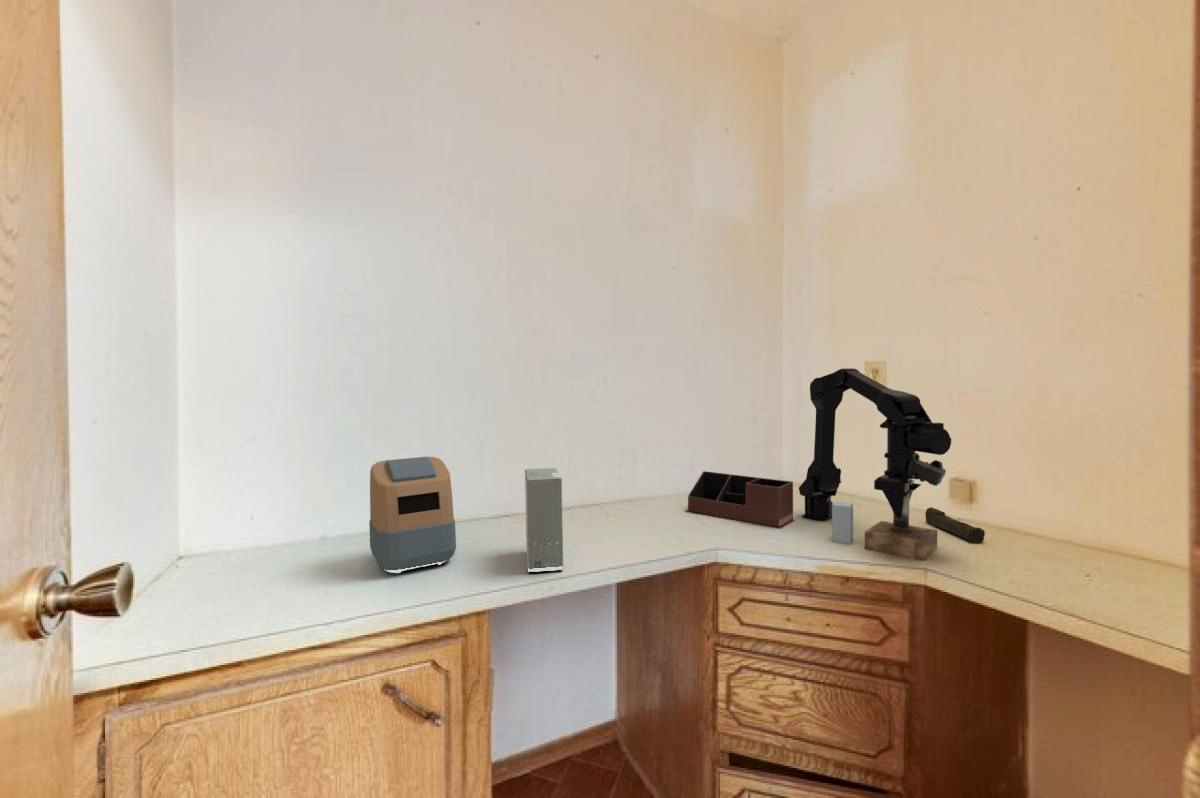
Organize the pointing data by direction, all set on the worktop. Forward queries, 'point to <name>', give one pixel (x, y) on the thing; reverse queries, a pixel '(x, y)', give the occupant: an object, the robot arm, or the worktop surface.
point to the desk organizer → (743, 499)
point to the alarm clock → (411, 513)
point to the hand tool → (954, 526)
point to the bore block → (901, 540)
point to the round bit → (903, 515)
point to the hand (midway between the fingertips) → (900, 515)
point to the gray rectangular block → (842, 522)
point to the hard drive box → (543, 518)
